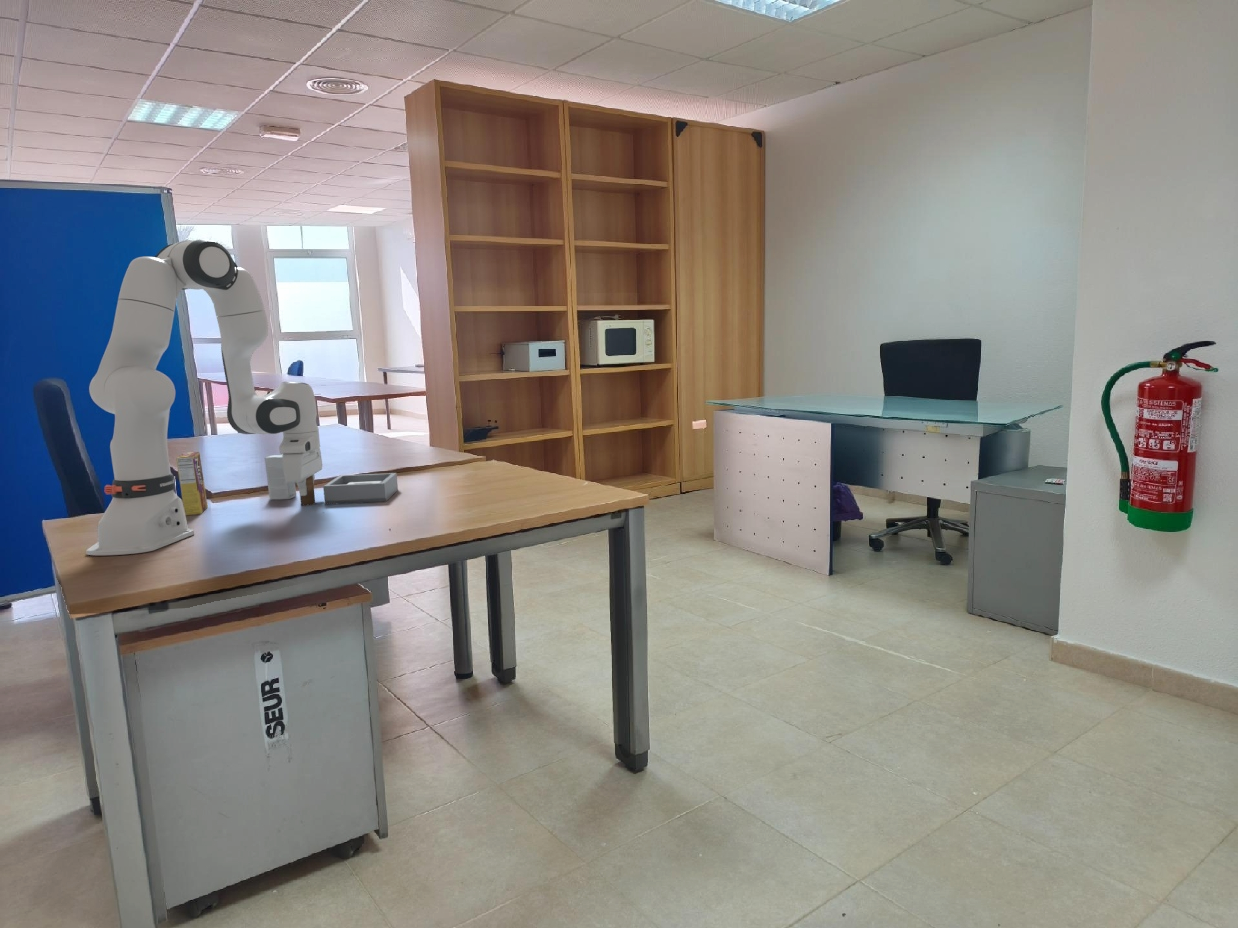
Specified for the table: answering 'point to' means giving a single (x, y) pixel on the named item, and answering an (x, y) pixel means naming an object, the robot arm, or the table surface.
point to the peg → (309, 493)
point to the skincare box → (278, 479)
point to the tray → (360, 488)
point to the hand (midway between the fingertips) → (307, 493)
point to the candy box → (192, 483)
